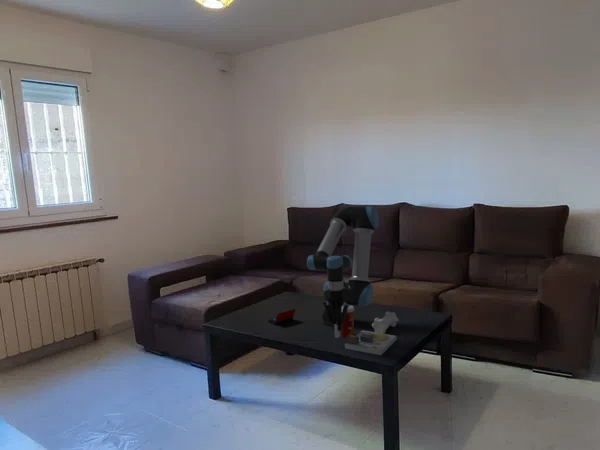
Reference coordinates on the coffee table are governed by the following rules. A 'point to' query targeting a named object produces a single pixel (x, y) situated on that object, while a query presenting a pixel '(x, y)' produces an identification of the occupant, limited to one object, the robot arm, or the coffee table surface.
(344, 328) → the coffee cup
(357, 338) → the tagged breaker
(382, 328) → the bone shaped toy
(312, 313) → the coffee table surface
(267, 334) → the coffee table surface
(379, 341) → the panel
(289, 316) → the handheld game console
